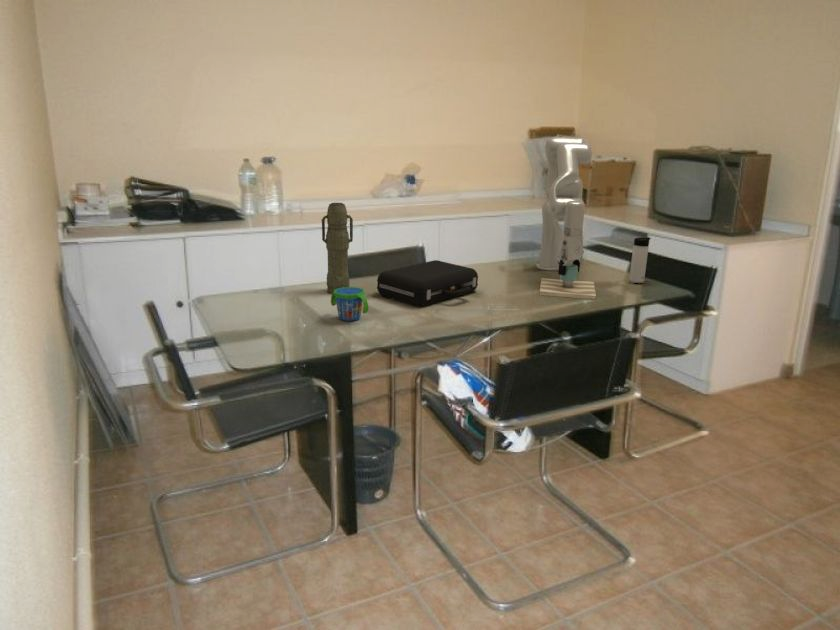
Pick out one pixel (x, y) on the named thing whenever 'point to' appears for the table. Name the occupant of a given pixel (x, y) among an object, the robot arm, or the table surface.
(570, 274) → the teal cube
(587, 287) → the post board
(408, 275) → the briefcase
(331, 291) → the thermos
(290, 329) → the table surface
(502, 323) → the table surface
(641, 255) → the travel mug
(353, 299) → the snack cup
